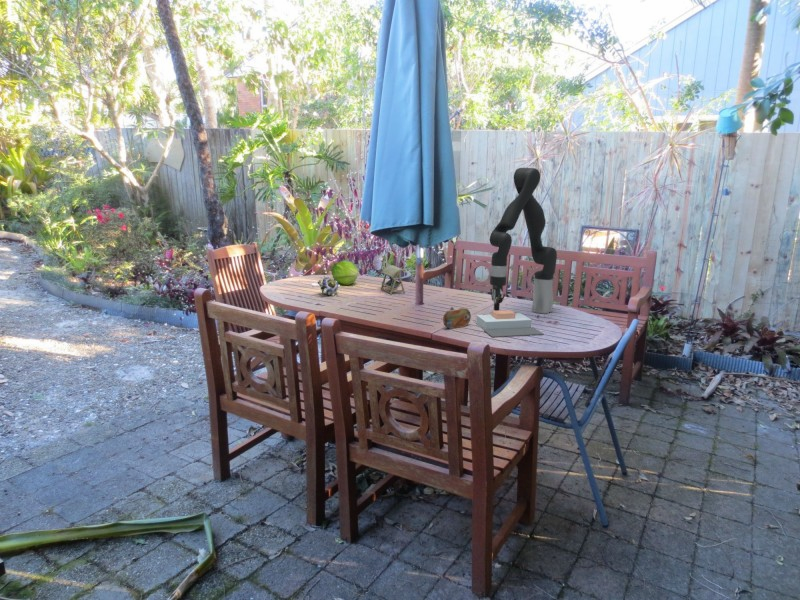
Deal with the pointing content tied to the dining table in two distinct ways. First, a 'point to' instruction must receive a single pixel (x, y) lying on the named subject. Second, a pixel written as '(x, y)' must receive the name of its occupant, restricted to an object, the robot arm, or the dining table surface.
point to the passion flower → (329, 285)
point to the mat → (513, 332)
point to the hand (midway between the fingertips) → (496, 310)
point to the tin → (456, 318)
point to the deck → (503, 322)
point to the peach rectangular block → (503, 314)
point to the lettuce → (344, 272)
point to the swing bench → (392, 283)
